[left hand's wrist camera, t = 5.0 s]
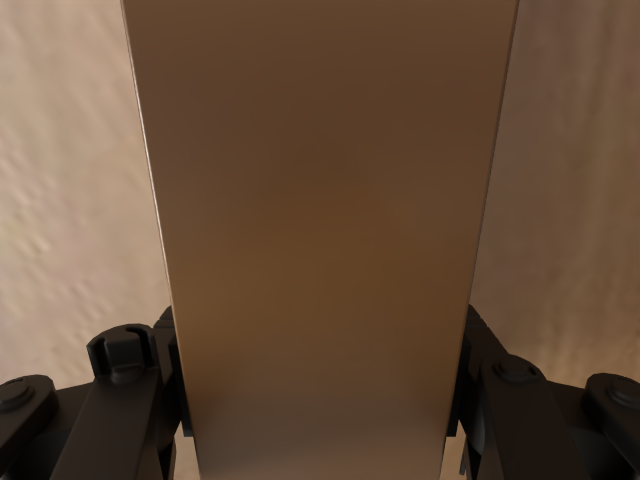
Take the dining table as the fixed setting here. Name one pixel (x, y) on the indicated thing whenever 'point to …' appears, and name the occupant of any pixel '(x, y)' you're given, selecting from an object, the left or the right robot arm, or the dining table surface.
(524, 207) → the dining table surface
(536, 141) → the dining table surface
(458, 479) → the dining table surface
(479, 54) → the beam
